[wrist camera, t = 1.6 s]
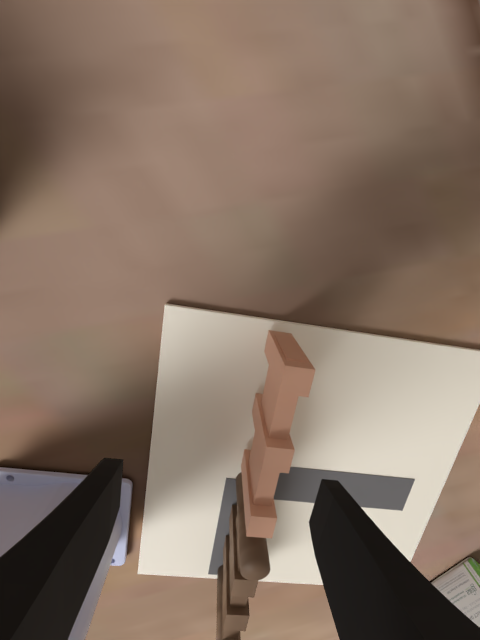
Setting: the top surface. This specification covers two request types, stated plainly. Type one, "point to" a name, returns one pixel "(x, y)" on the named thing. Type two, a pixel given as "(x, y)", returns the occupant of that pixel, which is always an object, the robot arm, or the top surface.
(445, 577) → the syrup box
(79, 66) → the top surface
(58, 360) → the top surface
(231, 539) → the fixed fence section
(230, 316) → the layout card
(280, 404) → the folding fence panel
